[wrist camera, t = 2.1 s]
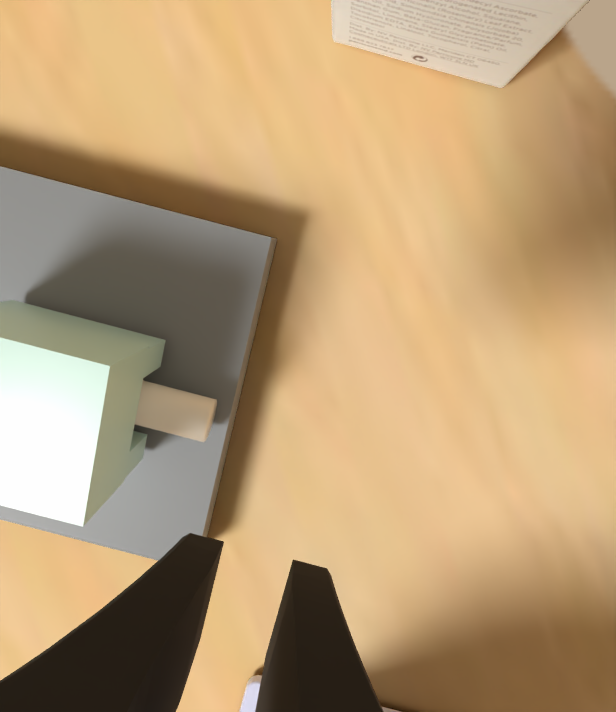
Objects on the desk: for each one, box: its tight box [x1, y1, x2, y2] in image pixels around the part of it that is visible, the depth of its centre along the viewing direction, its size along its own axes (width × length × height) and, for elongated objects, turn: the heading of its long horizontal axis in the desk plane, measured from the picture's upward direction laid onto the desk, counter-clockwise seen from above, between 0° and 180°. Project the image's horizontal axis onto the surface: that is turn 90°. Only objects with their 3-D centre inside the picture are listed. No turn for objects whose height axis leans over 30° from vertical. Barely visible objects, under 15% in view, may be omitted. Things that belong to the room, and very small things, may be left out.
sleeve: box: [0, 300, 166, 527], centre depth 14 cm, size 5×4×4 cm
